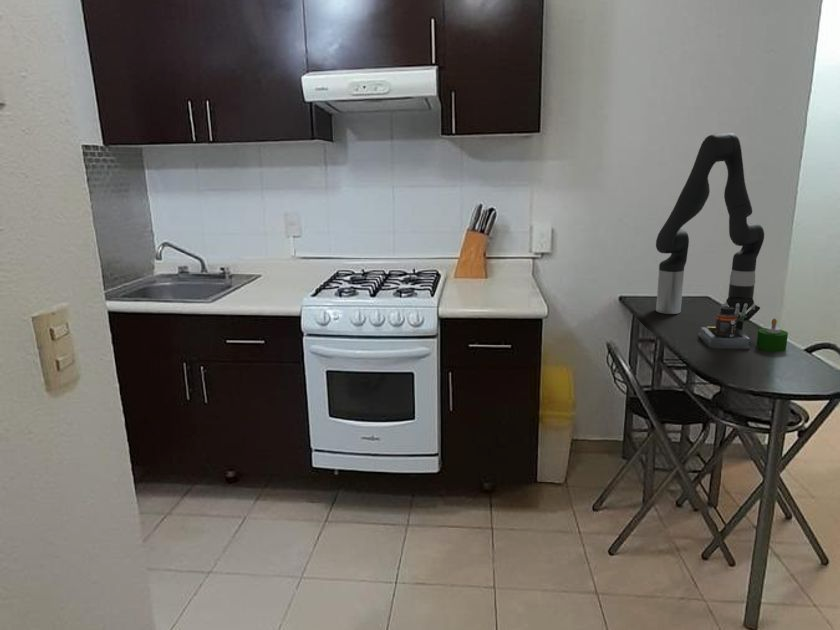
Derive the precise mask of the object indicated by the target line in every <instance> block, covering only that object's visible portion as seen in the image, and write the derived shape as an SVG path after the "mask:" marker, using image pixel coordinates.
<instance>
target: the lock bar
mask: <svg viewBox="0 0 840 630" xmlns="http://www.w3.org/2000/svg"><path fill="white" fill-rule="evenodd" d="M706 328H707V329H708V330H709V331H710V332H711V333H715V330H716V326H706Z"/></svg>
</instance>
